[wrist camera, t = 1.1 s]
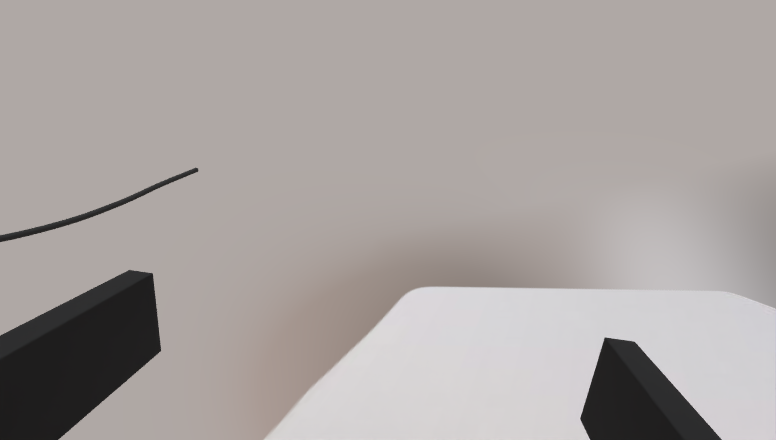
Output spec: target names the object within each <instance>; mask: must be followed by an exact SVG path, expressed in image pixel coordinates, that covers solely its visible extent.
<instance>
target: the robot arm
mask: <svg viewBox="0 0 776 440" xmlns="http://www.w3.org/2000/svg"><path fill="white" fill-rule="evenodd" d="M195 172H198V168H194V169H192V170H189V171H187V172H184V173H182V174H179V175H177V176H174V177H172V178H169V179H167V180H164V181H162V182H160V183H157V184H155V185H153V186H151V187H149V188H146V189H144V190H142V191H140V192H138V193H136V194H133V195H131V196H129V197H127V198H124V199H122V200H120V201H117V202H114V203H112V204H109V205H106V206H104V207H101V208H99V209H96V210H93V211H90V212H87V213H85V214H82V215H79V216H76V217H72V218H69V219H66V220H62V221H59V222H55V223H52V224H48V225H44V226H40V227H36V228H32V229H28V230H24V231H19V232H14V233H10V234H5V235H0V242H2V241H8V240H12V239H17V238H21V237H25V236H29V235H33V234H37V233H41V232H45V231H48V230H52V229H56V228H59V227H63V226H66V225H69V224H72V223H76V222H79V221H82V220H85V219H87V218H90V217H93V216H96V215H98V214H101V213H103V212H106V211H109V210H111V209H113V208H116V207H118V206H121V205H123V204H126V203H128V202H130V201H133V200H135V199H137V198H139V197H141V196H143V195H145V194H147V193H149V192H151V191H153V190H155V189H158V188H160V187H162V186H164V185H166V184H169V183H171V182H174V181H176V180H178V179H181V178H183V177H186V176H188V175H190V174H193V173H195ZM160 351H161V346H160V337H159V327H158V318H157V309H156V299H155V291H154V281H153V274H152V273H146V272H139V271H132V270H128V271H127V272H125V273H123V274H121V275H119V276H117V277H115V278H113V279H111V280H109V281H107V282H105V283H103V284H101V285H99V286H97V287H95V288H93V289H91V290H89V291H87V292H85V293H83V294H81V295H79V296H77V297H75V298H73V299H72V300H69V301H68V302H66V303H64V304H62V305H60V306H58V307H56V308H54V309H52V310H50V311H48V312H46V313H44V314H42V315H40V316H38V317H36V318H34V319H32V320H30V321H28V322H26V323H24V324H22V325H20V326H18V327H16V328H14V329H12V330H10V331H9V332H7V333H5V334H3V335H1V336H0V440H58V439H59V438H61V437H62V436H63V435H64V434H65V433H66V432H68V431H69V430H70V429H71V428H72V427H73V426H74V425H76V424H77V423H78V422H79V421H80V420H82V419H83V418H84V417H85V416H86V415H87V414H88V413H90V412H91V411H92V410H93V409H94V408H95V407H97V406H98V405H99V404H100V403H101V402H102V401H104V400H105V399H106V398H107V397H108V396H109V395H110V394H112V393H113V392H114V391H115V390H116V389H117V388H119V387H120V386H121V385H122V384H123V383H124V382H126V381H127V380H128V379H129V378H130V377H131V376H132V375H134V374H135V373H136V372H137V371H138V370H139V369H141V368H142V367H143V366H144V365H145V364H146V363H148V362H149V361H150V360H151V359H152V358H153V357H154V356H156V355H157V354H158V353H159V352H160ZM580 419H581V421H582V423H583V426H584V428H585V430H586V432H587V434H588V436H589V438H590V440H722V439H721V438H720V437H719V436H718V435H717V434H716V433H715V432H714V430H713V429H712V428H711V427H710V426H709V425H708V424H707V423H706V421H705V420H704V419H703V418H702V417H701V416H700V415H699V414H698V412H697V411H696V410H695V409H694V408H693V407H692V406H691V405H690V403H689V402H688V401H687V400H686V399H685V398H684V397H683V396H682V394H681V393H680V392H679V391H678V390H677V389H676V388H675V387H674V385H673V384H672V383H671V382H670V381H669V380H668V379H667V378H666V376H665V375H664V374H663V373H662V372H661V371H660V370H659V369H658V367H657V366H656V365H655V364H654V363H653V362H652V361H651V360H650V358H649V357H648V356H647V355H646V354H645V353H644V352H643V351H642V349H641V348H640V347H639V346H638V345H637V344H636V343H635V342H632V341H625V340H618V339H611V338H605V339H604V342H603V345H602V349H601V352H600V355H599V359H598V362H597V365H596V369H595V372H594V375H593V378H592V382H591V385H590V388H589V392H588V395H587V398H586V402H585V405H584V408H583V412H582V415H581V418H580Z"/></svg>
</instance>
